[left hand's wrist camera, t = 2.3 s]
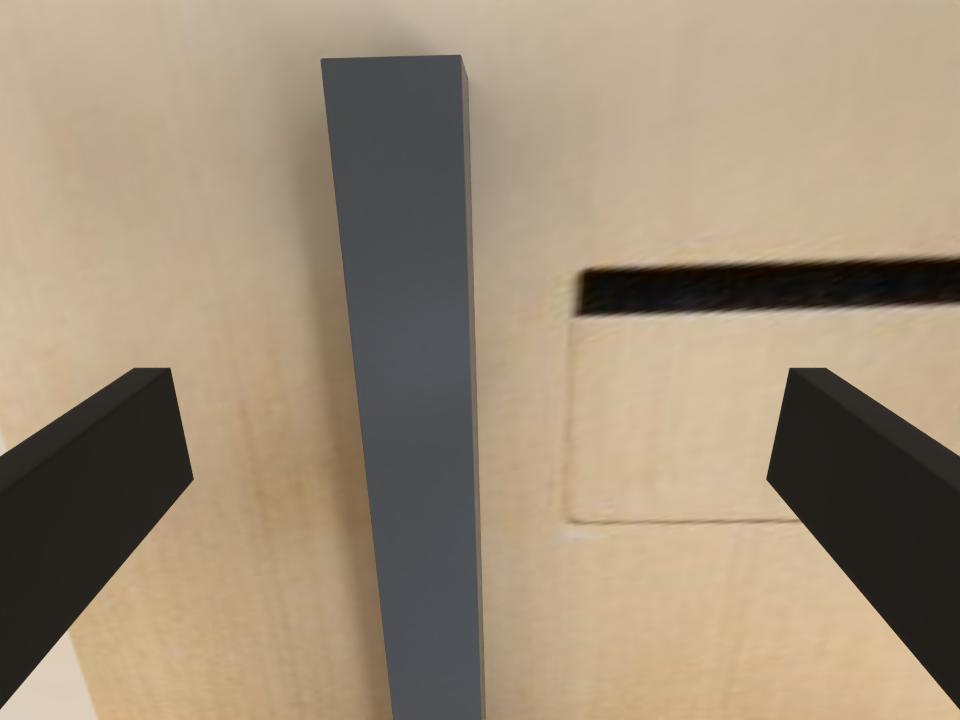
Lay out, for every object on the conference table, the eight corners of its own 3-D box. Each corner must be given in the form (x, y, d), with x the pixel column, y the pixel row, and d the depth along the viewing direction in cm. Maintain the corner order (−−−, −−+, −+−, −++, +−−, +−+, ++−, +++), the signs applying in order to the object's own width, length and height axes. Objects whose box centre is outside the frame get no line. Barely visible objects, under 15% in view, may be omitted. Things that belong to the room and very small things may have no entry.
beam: (365, 80, 26) (319, 58, 19) (467, 77, 26) (461, 54, 19) (429, 820, 44) (418, 950, 37) (488, 820, 44) (489, 950, 37)
